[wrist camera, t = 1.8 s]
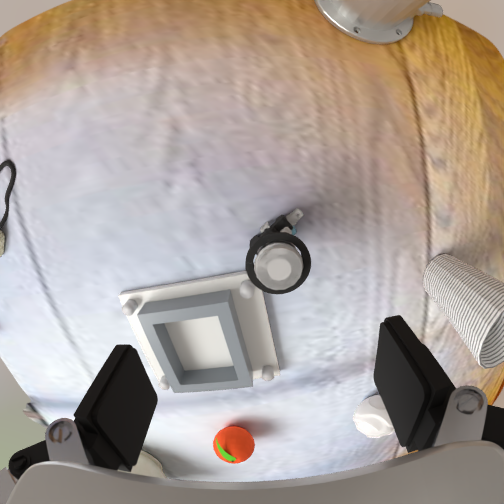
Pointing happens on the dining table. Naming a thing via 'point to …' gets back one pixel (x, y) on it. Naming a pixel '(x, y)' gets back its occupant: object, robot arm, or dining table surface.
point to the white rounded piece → (373, 418)
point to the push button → (278, 256)
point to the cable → (6, 202)
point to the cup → (469, 305)
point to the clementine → (233, 444)
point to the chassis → (204, 333)
